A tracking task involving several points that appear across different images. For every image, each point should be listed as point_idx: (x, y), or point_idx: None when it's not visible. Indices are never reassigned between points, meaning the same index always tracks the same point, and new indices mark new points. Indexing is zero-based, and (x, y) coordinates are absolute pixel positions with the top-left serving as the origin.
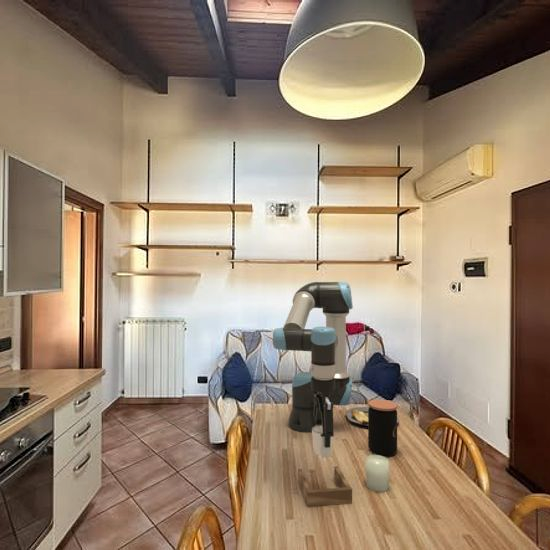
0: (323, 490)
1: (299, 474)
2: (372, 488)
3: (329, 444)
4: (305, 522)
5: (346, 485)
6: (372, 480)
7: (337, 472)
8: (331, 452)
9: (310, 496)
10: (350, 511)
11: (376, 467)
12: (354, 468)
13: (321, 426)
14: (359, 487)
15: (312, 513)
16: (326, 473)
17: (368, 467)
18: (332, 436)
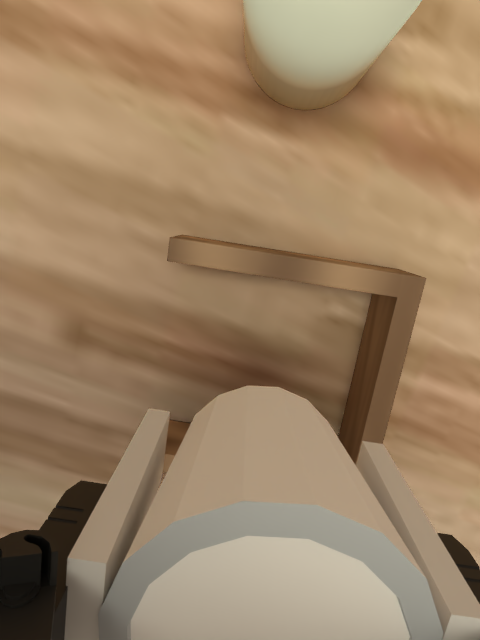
0: (378, 427)
1: None
2: (342, 97)
3: (477, 572)
4: (434, 503)
5: (381, 290)
6: (352, 81)
7: (230, 270)
8: (314, 407)
9: None
10: (448, 307)
11: (408, 18)
12: (101, 77)
13: (147, 622)
14: (293, 159)
15: (395, 460)
16: (118, 271)
17: (336, 68)
18: (379, 512)
